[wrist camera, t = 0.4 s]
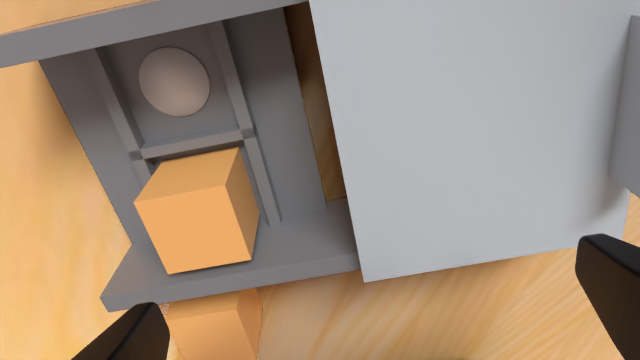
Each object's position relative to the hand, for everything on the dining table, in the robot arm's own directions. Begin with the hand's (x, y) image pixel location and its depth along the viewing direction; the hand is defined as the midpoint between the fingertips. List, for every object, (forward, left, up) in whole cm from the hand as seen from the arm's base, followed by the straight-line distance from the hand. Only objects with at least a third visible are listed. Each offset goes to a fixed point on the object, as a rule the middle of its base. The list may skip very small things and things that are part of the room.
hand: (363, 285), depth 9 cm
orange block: (-3, +7, -13) cm, 15 cm away
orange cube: (-11, +9, -14) cm, 20 cm away
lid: (0, -5, -8) cm, 10 cm away
